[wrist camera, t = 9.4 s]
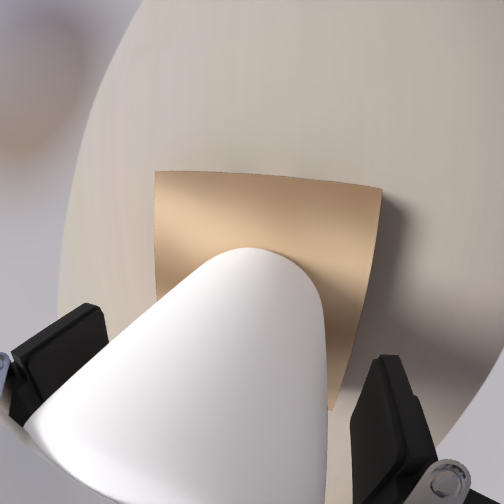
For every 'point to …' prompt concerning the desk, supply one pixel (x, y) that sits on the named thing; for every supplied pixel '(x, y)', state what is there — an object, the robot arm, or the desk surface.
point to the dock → (274, 238)
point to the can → (203, 394)
